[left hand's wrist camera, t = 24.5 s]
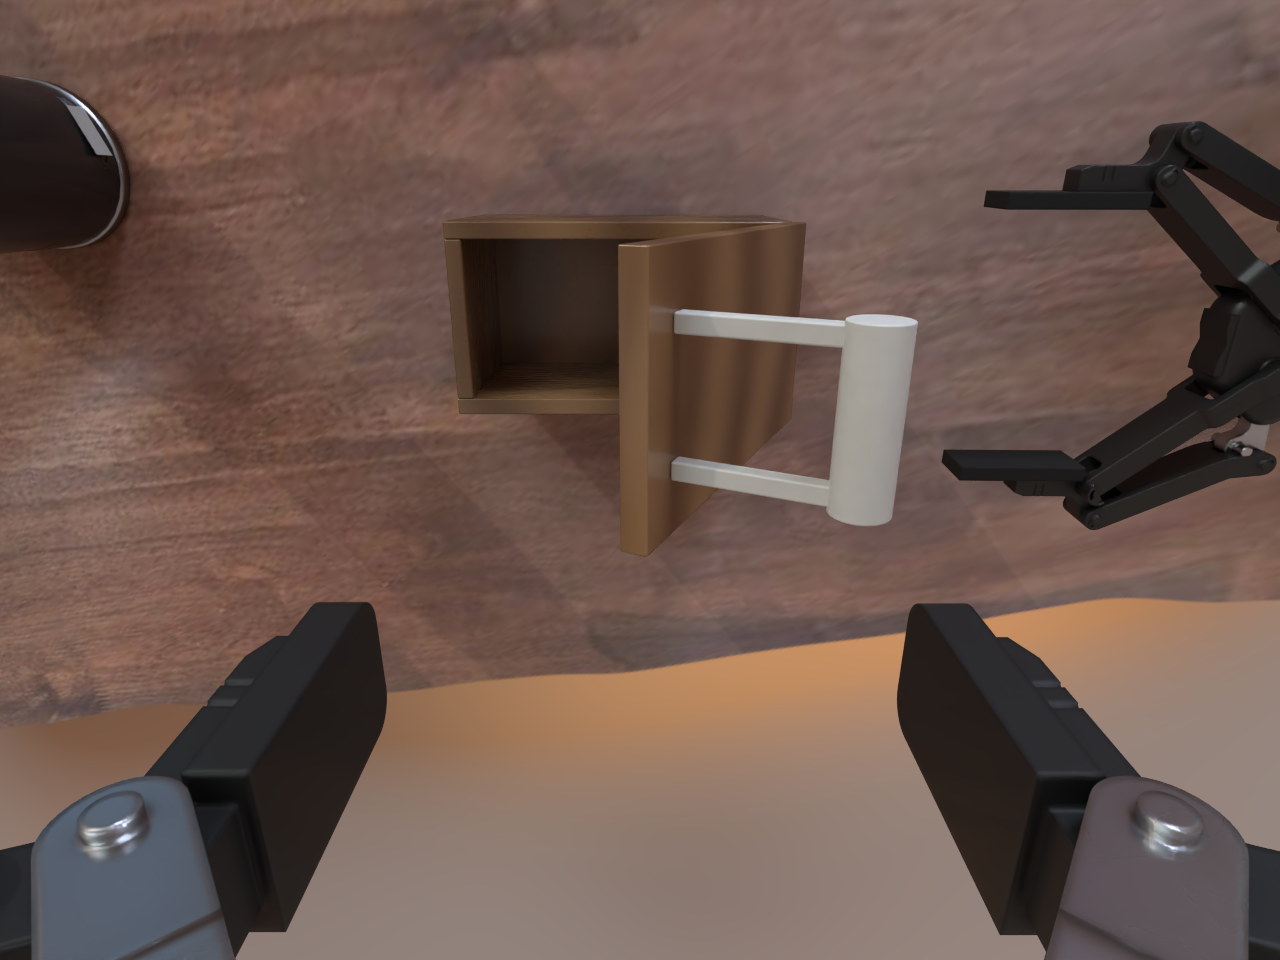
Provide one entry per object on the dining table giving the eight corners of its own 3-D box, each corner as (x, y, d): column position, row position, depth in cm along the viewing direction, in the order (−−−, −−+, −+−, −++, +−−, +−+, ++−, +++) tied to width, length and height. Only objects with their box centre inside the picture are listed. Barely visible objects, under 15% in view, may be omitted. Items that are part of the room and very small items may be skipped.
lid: (619, 551, 25) (872, 607, 22) (617, 244, 22) (917, 254, 18) (772, 416, 40) (936, 437, 37) (786, 222, 37) (968, 225, 34)
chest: (493, 372, 50) (458, 414, 41) (482, 214, 47) (441, 221, 37) (754, 372, 50) (780, 414, 41) (763, 215, 47) (794, 221, 37)
